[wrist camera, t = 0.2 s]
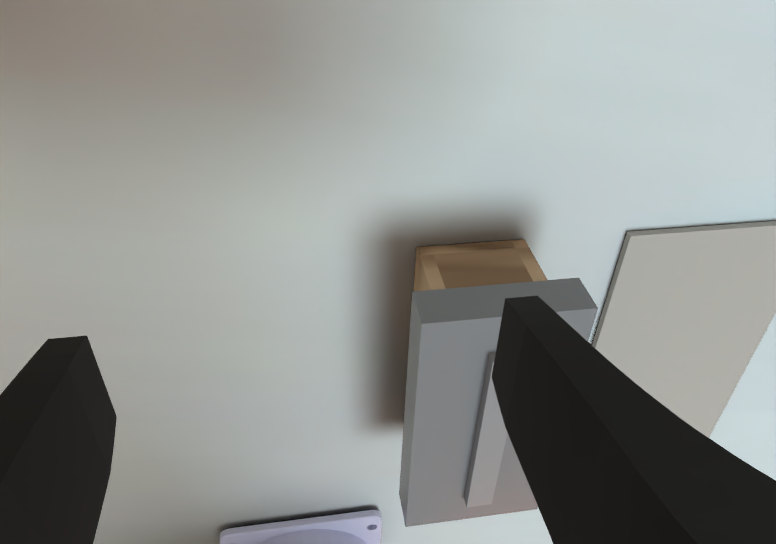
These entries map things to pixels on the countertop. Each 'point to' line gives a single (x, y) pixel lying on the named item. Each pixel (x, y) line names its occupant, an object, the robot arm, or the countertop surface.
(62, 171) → the countertop surface
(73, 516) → the robot arm
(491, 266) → the box
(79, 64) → the countertop surface
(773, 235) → the mat
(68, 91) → the countertop surface
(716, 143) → the countertop surface
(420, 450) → the lid
